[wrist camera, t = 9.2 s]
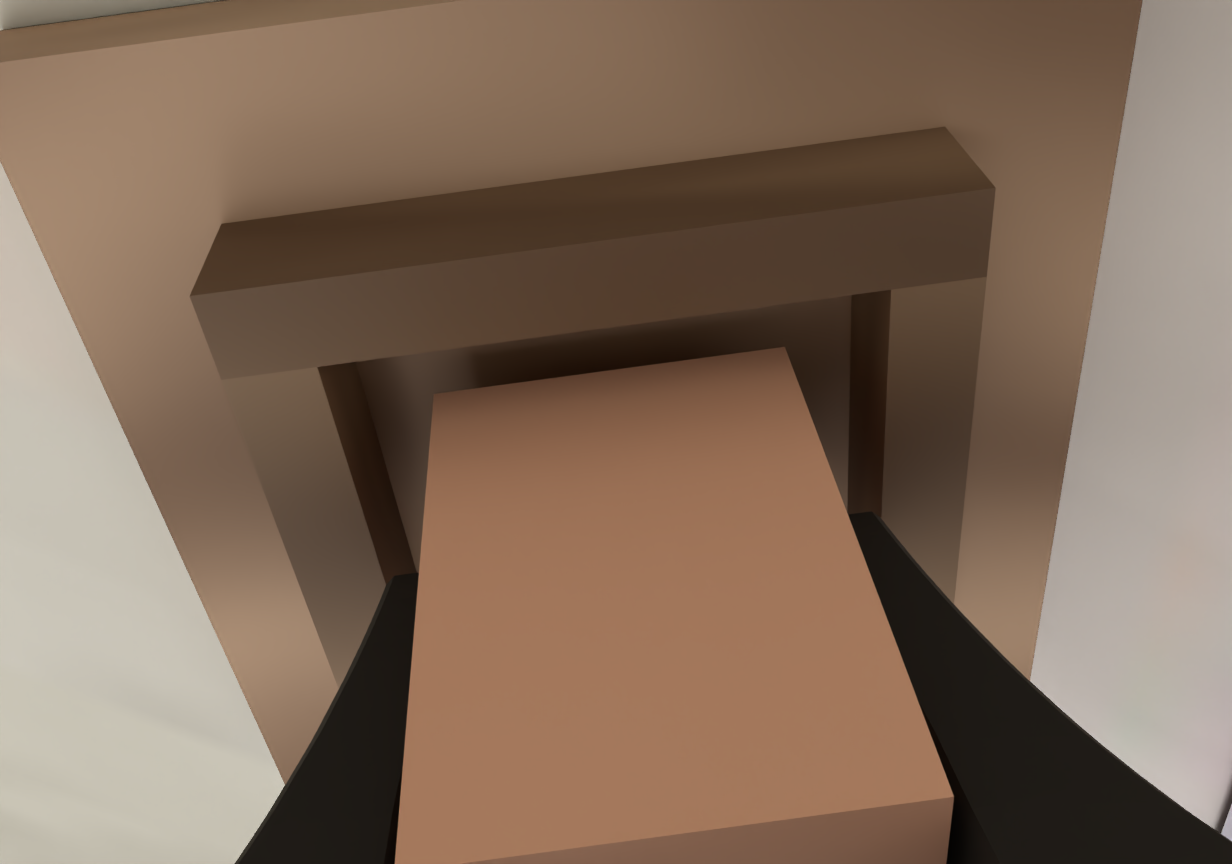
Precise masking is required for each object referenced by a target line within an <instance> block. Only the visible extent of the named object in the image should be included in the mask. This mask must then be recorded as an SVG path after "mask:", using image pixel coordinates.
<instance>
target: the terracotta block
mask: <svg viewBox="0 0 1232 864" xmlns="http://www.w3.org/2000/svg"><path fill="white" fill-rule="evenodd" d="M953 802H954V795H953V793H952V790H951V787H950V785H949V782H948V779H947V777H946V774H945V771H944V769H943V766H942V763H941V761H940V758H939V755H938V753H937V750H936V747H935V745H934V742H933V739H932V737H931V734H930V732H929V729H928V726H927V724H926V721H925V718H924V716H923V713H922V710H921V708H920V705H919V702H918V700H917V697H916V694H915V692H914V689H913V686H912V684H911V681H910V678H909V676H908V673H907V670H906V668H905V665H904V662H903V660H902V657H901V654H900V652H899V649H898V646H897V644H896V641H895V638H894V636H893V633H892V631H891V628H890V625H889V623H888V620H887V617H886V615H885V612H884V609H883V607H882V604H881V601H880V599H879V596H878V593H877V591H876V588H875V585H874V583H873V580H872V577H871V575H870V572H869V569H868V567H867V564H866V561H865V559H864V556H863V553H862V551H861V548H860V545H859V543H858V540H857V537H856V535H855V532H854V529H853V527H852V524H851V522H850V519H849V516H848V514H847V511H846V508H845V506H844V503H843V500H842V498H841V495H840V492H839V490H838V487H837V484H836V482H835V479H834V476H833V474H832V471H831V468H830V466H829V463H828V460H827V458H826V455H825V452H824V450H823V447H822V444H821V442H820V439H819V436H818V434H817V431H816V428H815V426H814V423H813V421H812V418H811V415H810V413H809V410H808V407H807V405H806V402H805V399H804V397H803V394H802V391H801V389H800V386H799V383H798V381H797V378H796V375H795V373H794V370H793V367H792V365H791V362H790V359H789V357H788V354H787V351H786V349H785V347H780V348H772V349H765V350H757V351H750V352H742V353H735V354H728V355H720V356H713V357H705V358H698V359H690V360H683V361H676V362H668V363H661V364H653V365H646V366H638V367H631V368H623V369H616V370H609V371H601V372H594V373H586V374H579V375H571V376H564V377H557V378H549V379H542V380H534V381H527V382H519V383H512V384H505V385H497V386H490V387H482V388H475V389H467V390H460V391H453V392H445V393H438V394H434V398H433V410H432V422H431V434H430V446H429V458H428V470H427V482H426V494H425V506H424V518H423V530H422V542H421V554H420V566H419V578H418V590H417V602H416V614H415V626H414V638H413V650H412V662H411V674H410V686H409V698H408V711H407V723H406V735H405V747H404V759H403V771H402V783H401V795H400V807H399V819H398V831H397V843H396V855H395V864H946V861H947V853H948V844H949V836H950V827H951V819H952V810H953Z"/></svg>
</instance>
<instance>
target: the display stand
mask: <svg viewBox="0 0 1232 864" xmlns="http://www.w3.org/2000/svg"><path fill="white" fill-rule="evenodd" d="M1141 6H1142V0H225V1H218V2H210V3H203V4H195V5H188V6H180V7H173V8H165V9H158V10H150V11H143V12H136V13H128V14H121V15H113V16H106V17H98V18H91V19H83V20H76V21H68V22H61V23H53V24H46V25H38V26H31V27H24V28H16V29H9V30H1V31H0V161H1V163H2V166H3V168H4V170H5V172H6V174H7V176H8V179H9V181H10V183H11V185H12V187H13V190H14V192H15V194H16V196H17V198H18V201H19V203H20V205H21V207H22V209H23V212H24V214H25V216H26V218H27V220H28V222H29V225H30V227H31V229H32V231H33V233H34V236H35V238H36V240H37V242H38V244H39V247H40V249H41V251H42V253H43V255H44V258H45V260H46V262H47V264H48V266H49V268H50V271H51V273H52V275H53V277H54V279H55V282H56V284H57V286H58V288H59V290H60V293H61V295H62V297H63V299H64V301H65V304H66V306H67V308H68V310H69V312H70V314H71V317H72V319H73V321H74V323H75V325H76V328H77V330H78V332H79V334H80V336H81V339H82V341H83V343H84V345H85V347H86V350H87V352H88V354H89V356H90V358H91V360H92V363H93V365H94V367H95V369H96V371H97V374H98V376H99V378H100V380H101V382H102V385H103V387H104V389H105V391H106V393H107V396H108V398H109V400H110V402H111V404H112V406H113V409H114V411H115V413H116V415H117V417H118V420H119V422H120V424H121V426H122V428H123V431H124V433H125V435H126V437H127V439H128V442H129V444H130V446H131V448H132V450H133V452H134V455H135V457H136V459H137V461H138V463H139V466H140V468H141V470H142V472H143V474H144V477H145V479H146V481H147V483H148V485H149V488H150V490H151V492H152V494H153V496H154V498H155V501H156V503H157V505H158V507H159V509H160V512H161V514H162V516H163V518H164V520H165V523H166V525H167V527H168V529H169V531H170V534H171V536H172V538H173V540H174V542H175V545H176V547H177V549H178V551H179V553H180V555H181V558H182V560H183V562H184V564H185V566H186V569H187V571H188V573H189V575H190V577H191V580H192V582H193V584H194V586H195V588H196V591H197V593H198V595H199V597H200V599H201V601H202V604H203V606H204V608H205V610H206V612H207V615H208V617H209V619H210V621H211V623H212V626H213V628H214V630H215V632H216V634H217V637H218V639H219V641H220V643H221V645H222V647H223V650H224V652H225V654H226V656H227V658H228V661H229V663H230V665H231V667H232V669H233V672H234V674H235V676H236V678H237V680H238V683H239V685H240V687H241V689H242V691H243V693H244V696H245V698H246V700H247V702H248V704H249V707H250V709H251V711H252V713H253V715H254V718H255V720H256V722H257V724H258V726H259V729H260V731H261V733H262V735H263V737H264V739H265V742H266V744H267V746H268V748H269V750H270V753H271V755H272V757H273V759H274V761H275V764H276V766H277V768H278V770H279V772H280V775H281V777H282V779H283V781H284V783H285V785H286V783H287V781H288V780H289V778H290V776H291V775H292V773H293V771H294V770H295V768H296V766H297V765H298V763H299V761H300V760H301V758H302V756H303V754H304V753H305V751H306V749H307V748H308V746H309V744H310V742H311V741H312V739H313V737H314V735H315V733H316V732H317V730H318V728H319V726H320V724H321V722H322V720H323V718H324V716H325V714H326V712H327V711H328V709H329V707H330V705H331V703H332V701H333V699H334V697H335V695H336V693H337V691H338V690H339V688H340V686H341V684H342V682H343V680H344V678H345V676H346V674H347V672H348V670H349V668H350V666H351V664H352V661H353V659H354V657H355V655H356V653H357V651H358V649H359V647H360V645H361V643H362V640H363V638H364V636H365V634H366V632H367V629H368V627H369V625H370V623H371V620H372V618H373V616H374V613H375V611H376V609H377V606H378V604H379V602H380V599H381V597H382V594H383V592H384V589H385V587H386V584H387V583H388V582H389V581H390V580H391V579H392V578H393V577H394V576H395V575H403V574H410V573H418V572H419V566H420V554H421V542H422V530H423V518H424V506H425V494H426V482H427V470H428V458H429V446H430V434H431V422H432V410H433V398H434V394H438V393H445V392H453V391H460V390H467V389H475V388H482V387H490V386H497V385H505V384H512V383H519V382H527V381H534V380H542V379H549V378H557V377H564V376H571V375H579V374H586V373H594V372H601V371H609V370H616V369H623V368H631V367H638V366H646V365H653V364H661V363H668V362H676V361H683V360H690V359H698V358H705V357H713V356H720V355H728V354H735V353H742V352H750V351H757V350H765V349H772V348H780V347H785V349H786V351H787V354H788V357H789V359H790V362H791V365H792V367H793V370H794V373H795V375H796V378H797V381H798V383H799V386H800V389H801V391H802V394H803V397H804V399H805V402H806V405H807V407H808V410H809V413H810V415H811V418H812V421H813V423H814V426H815V428H816V431H817V434H818V436H819V439H820V442H821V444H822V447H823V450H824V452H825V455H826V458H827V460H828V463H829V466H830V468H831V471H832V474H833V476H834V479H835V482H836V484H837V487H838V490H839V492H840V495H841V498H842V500H843V503H844V506H845V508H846V511H847V514H855V513H862V512H870V511H872V512H873V513H875V514H876V515H878V516H879V517H880V518H881V519H882V520H883V521H884V522H885V524H886V525H887V526H888V528H889V529H890V530H891V531H892V533H893V534H894V535H895V536H896V538H897V539H898V540H899V541H900V543H901V544H902V545H903V546H904V547H905V549H906V550H907V551H908V552H909V554H910V555H911V556H912V557H913V558H914V559H915V561H916V562H917V563H918V564H919V565H920V567H921V568H922V569H923V570H924V571H925V572H926V574H927V575H928V576H929V577H930V578H931V579H932V580H933V581H934V583H935V584H936V585H937V586H938V587H939V588H940V589H941V590H942V592H943V593H944V594H945V595H946V596H947V597H948V598H949V599H950V601H951V602H952V603H953V604H954V605H955V606H956V607H957V608H958V609H959V610H960V611H961V612H962V614H963V615H964V616H965V617H966V618H967V619H968V620H969V621H970V622H971V623H972V624H973V625H974V626H975V627H976V628H977V629H978V630H979V631H980V632H981V633H982V634H983V635H984V636H985V637H986V638H987V639H988V640H989V641H990V642H991V643H992V644H993V645H994V647H995V648H996V649H997V650H998V651H999V652H1000V653H1001V654H1002V655H1003V656H1004V657H1005V658H1006V659H1007V660H1008V661H1009V662H1010V663H1011V664H1013V665H1014V666H1015V667H1016V668H1017V669H1018V670H1019V671H1020V672H1021V673H1022V674H1023V675H1024V676H1025V677H1026V678H1027V679H1028V680H1029V681H1030V676H1031V670H1032V664H1033V658H1034V652H1035V646H1036V640H1037V634H1038V628H1039V622H1040V616H1041V610H1042V604H1043V598H1044V592H1045V586H1046V580H1047V573H1048V567H1049V561H1050V555H1051V549H1052V543H1053V537H1054V531H1055V525H1056V519H1057V513H1058V507H1059V501H1060V495H1061V489H1062V483H1063V477H1064V471H1065V465H1066V459H1067V453H1068V447H1069V441H1070V435H1071V429H1072V423H1073V417H1074V411H1075V405H1076V398H1077V392H1078V386H1079V380H1080V374H1081V368H1082V362H1083V356H1084V350H1085V344H1086V338H1087V332H1088V326H1089V320H1090V314H1091V308H1092V302H1093V296H1094V290H1095V284H1096V278H1097V272H1098V266H1099V260H1100V254H1101V248H1102V242H1103V236H1104V230H1105V223H1106V217H1107V211H1108V205H1109V199H1110V193H1111V187H1112V181H1113V175H1114V169H1115V163H1116V157H1117V151H1118V145H1119V139H1120V133H1121V127H1122V121H1123V115H1124V109H1125V103H1126V97H1127V91H1128V85H1129V79H1130V73H1131V67H1132V61H1133V55H1134V49H1135V42H1136V36H1137V30H1138V24H1139V18H1140V12H1141Z"/></svg>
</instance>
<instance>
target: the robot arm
mask: <svg viewBox="0 0 1232 864" xmlns="http://www.w3.org/2000/svg"><path fill="white" fill-rule="evenodd" d="M848 516H849V519H850V522H851V524H852V527H853V529H854V532H855V535H856V537H857V540H858V543H859V545H860V548H861V551H862V553H863V556H864V559H865V561H866V564H867V567H868V569H869V572H870V575H871V577H872V580H873V583H874V585H875V588H876V591H877V593H878V596H879V599H880V601H881V604H882V607H883V609H884V612H885V615H886V617H887V620H888V623H889V625H890V628H891V631H892V633H893V636H894V638H895V641H896V644H897V646H898V649H899V652H900V654H901V657H902V660H903V662H904V665H905V668H906V670H907V673H908V676H909V678H910V681H911V684H912V686H913V689H914V692H915V694H916V697H917V700H918V702H919V705H920V708H921V710H922V713H923V716H924V718H925V721H926V724H927V726H928V729H929V732H930V734H931V737H932V739H933V742H934V745H935V747H936V750H937V753H938V755H939V758H940V761H941V763H942V766H943V769H944V771H945V774H946V777H947V779H948V782H949V785H950V787H951V790H952V793H953V795H954V802H953V810H952V819H951V827H950V836H949V844H948V853H947V861H946V864H1232V805H1231V807H1230V810H1229V813H1228V816H1227V819H1226V821H1225V824H1224V827H1223V830H1222V833H1221V834H1220V833H1219V832H1217V831H1216V830H1214V829H1213V828H1211V827H1210V826H1209V825H1207V824H1206V823H1204V822H1203V821H1201V820H1200V819H1198V818H1197V817H1195V816H1194V815H1192V814H1191V813H1190V812H1188V811H1187V810H1185V809H1184V808H1183V807H1181V806H1180V805H1179V804H1177V803H1176V802H1175V801H1173V800H1172V799H1171V798H1169V797H1168V796H1167V795H1165V794H1164V793H1163V792H1161V791H1160V790H1159V789H1157V788H1156V787H1155V786H1153V785H1152V784H1151V783H1149V782H1148V781H1147V780H1145V779H1144V778H1143V777H1141V776H1140V775H1139V774H1137V773H1136V772H1135V771H1134V770H1132V769H1131V768H1130V767H1129V766H1127V765H1126V764H1125V763H1124V762H1122V761H1121V760H1120V759H1119V758H1117V757H1116V756H1115V755H1114V754H1112V753H1111V752H1110V751H1109V750H1107V749H1106V748H1105V747H1104V746H1103V745H1101V744H1100V743H1099V742H1098V741H1097V740H1095V739H1094V738H1093V737H1092V736H1091V735H1089V734H1088V733H1087V732H1086V731H1085V730H1084V729H1082V728H1081V727H1080V726H1079V725H1078V724H1077V723H1075V722H1074V721H1073V720H1072V719H1071V718H1070V717H1069V716H1067V715H1066V714H1065V713H1064V712H1063V711H1062V710H1061V709H1060V708H1058V707H1057V706H1056V705H1055V704H1054V703H1053V702H1052V701H1051V700H1050V699H1049V698H1048V697H1046V696H1045V695H1044V694H1043V693H1042V692H1041V691H1040V690H1039V689H1038V688H1037V687H1036V686H1035V685H1033V684H1032V683H1031V682H1030V681H1029V680H1028V679H1027V678H1026V677H1025V676H1024V675H1023V674H1022V673H1021V672H1020V671H1019V670H1018V669H1017V668H1016V667H1015V666H1014V665H1013V664H1011V663H1010V662H1009V661H1008V660H1007V659H1006V658H1005V657H1004V656H1003V655H1002V654H1001V653H1000V652H999V651H998V650H997V649H996V648H995V647H994V645H993V644H992V643H991V642H990V641H989V640H988V639H987V638H986V637H985V636H984V635H983V634H982V633H981V632H980V631H979V630H978V629H977V628H976V627H975V626H974V625H973V624H972V623H971V622H970V621H969V620H968V619H967V618H966V617H965V616H964V615H963V614H962V612H961V611H960V610H959V609H958V608H957V607H956V606H955V605H954V604H953V603H952V602H951V601H950V599H949V598H948V597H947V596H946V595H945V594H944V593H943V592H942V590H941V589H940V588H939V587H938V586H937V585H936V584H935V583H934V581H933V580H932V579H931V578H930V577H929V576H928V575H927V574H926V572H925V571H924V570H923V569H922V568H921V567H920V565H919V564H918V563H917V562H916V561H915V559H914V558H913V557H912V556H911V555H910V554H909V552H908V551H907V550H906V549H905V547H904V546H903V545H902V544H901V543H900V541H899V540H898V539H897V538H896V536H895V535H894V534H893V533H892V531H891V530H890V529H889V528H888V526H887V525H886V524H885V522H884V521H883V520H882V519H881V518H880V517H879V516H878V515H876V514H875V513H873V512H872V511H870V512H862V513H855V514H848ZM418 578H419V572H418V573H410V574H403V575H395V576H394V577H393V578H392V579H391V580H390V581H389V582H388V583H387V584H386V587H385V589H384V592H383V594H382V597H381V599H380V602H379V604H378V606H377V609H376V611H375V613H374V616H373V618H372V620H371V623H370V625H369V627H368V629H367V632H366V634H365V636H364V638H363V640H362V643H361V645H360V647H359V649H358V651H357V653H356V655H355V657H354V659H353V661H352V664H351V666H350V668H349V670H348V672H347V674H346V676H345V678H344V680H343V682H342V684H341V686H340V688H339V690H338V691H337V693H336V695H335V697H334V699H333V701H332V703H331V705H330V707H329V709H328V711H327V712H326V714H325V716H324V718H323V720H322V722H321V724H320V726H319V728H318V730H317V732H316V733H315V735H314V737H313V739H312V741H311V742H310V744H309V746H308V748H307V749H306V751H305V753H304V754H303V756H302V758H301V760H300V761H299V763H298V765H297V766H296V768H295V770H294V771H293V773H292V775H291V776H290V778H289V780H288V781H287V783H286V785H285V786H284V788H283V790H282V791H281V793H280V795H279V796H278V798H277V800H276V801H275V803H274V805H273V806H272V808H271V810H270V811H269V813H268V814H267V816H266V818H265V819H264V821H263V822H262V824H261V825H260V827H259V828H258V830H257V831H256V833H255V834H254V836H253V837H252V839H251V841H250V842H249V843H248V845H247V846H246V848H245V849H244V851H243V852H242V854H241V855H240V857H239V858H238V860H237V861H236V862H235V864H395V855H396V843H397V831H398V819H399V807H400V795H401V783H402V771H403V759H404V747H405V735H406V723H407V711H408V698H409V686H410V674H411V662H412V650H413V638H414V626H415V614H416V602H417V590H418Z"/></svg>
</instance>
